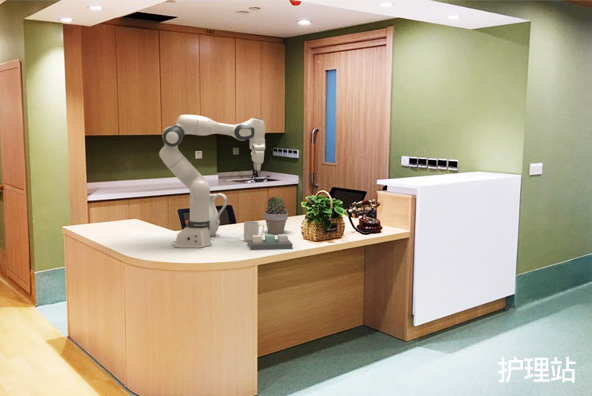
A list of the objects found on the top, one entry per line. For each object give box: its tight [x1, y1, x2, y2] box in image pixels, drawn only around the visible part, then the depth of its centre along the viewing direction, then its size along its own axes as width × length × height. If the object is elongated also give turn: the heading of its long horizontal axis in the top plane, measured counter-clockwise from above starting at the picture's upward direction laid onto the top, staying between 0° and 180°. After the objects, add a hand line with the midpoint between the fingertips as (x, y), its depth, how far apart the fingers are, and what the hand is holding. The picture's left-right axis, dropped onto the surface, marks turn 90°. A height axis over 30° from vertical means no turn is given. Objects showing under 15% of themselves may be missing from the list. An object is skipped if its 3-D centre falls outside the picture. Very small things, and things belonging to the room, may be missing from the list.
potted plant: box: [263, 195, 289, 235], centre depth 384 cm, size 18×20×25 cm
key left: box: [252, 234, 263, 243], centre depth 341 cm, size 5×5×4 cm
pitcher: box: [209, 192, 228, 238], centre depth 368 cm, size 24×17×28 cm
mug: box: [243, 220, 265, 242], centre depth 359 cm, size 12×9×11 cm
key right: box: [277, 233, 289, 243], centre depth 345 cm, size 5×5×4 cm
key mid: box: [264, 234, 276, 243], centre depth 343 cm, size 5×5×4 cm
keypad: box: [247, 238, 293, 251], centre depth 344 cm, size 24×13×3 cm, turn 103°
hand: (257, 169), depth 346 cm, fingers open, 8 cm apart
